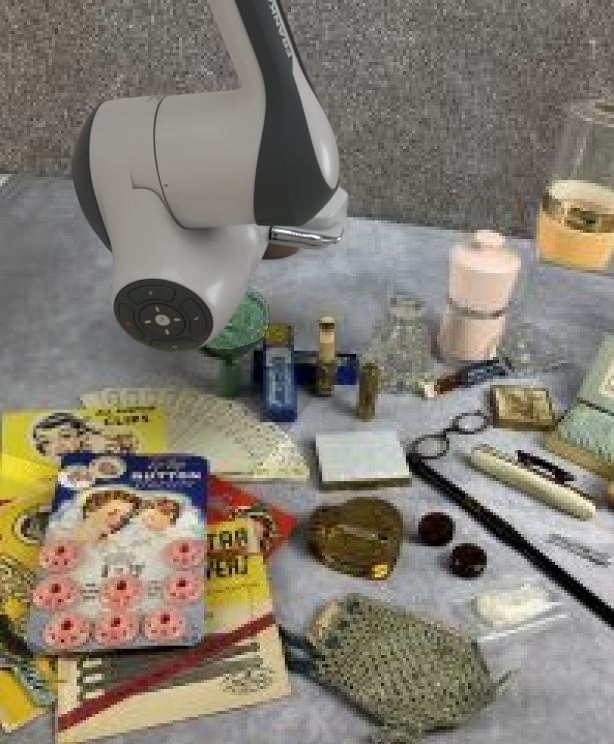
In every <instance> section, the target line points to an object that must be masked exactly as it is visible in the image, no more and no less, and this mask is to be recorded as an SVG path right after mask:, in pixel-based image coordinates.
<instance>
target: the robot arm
mask: <svg viewBox="0 0 614 744" xmlns="http://www.w3.org/2000/svg"><path fill="white" fill-rule="evenodd" d="M207 2H208V5H209V7H210V10H211V12H212V15H213V17H214V20H215V22H216V25H217V28H218V30H219V32H220V34H221V37H222V40H223V42H224V45H225V47H226V51H227V53H228V55H229V57H230V60H231V62H232V66H233V69H234V70H235V73H236V75H237V77H238V80H239V83H240V87H239V88H236V89H231V90H230V89H229V90H221V91H220V90H218V91H207V92H195V93H182V94H168V93H167V94H157V95H156V94H155V95H154V94H153V95H143V96H134V97H124V98H123V97H122V98H115V99H105V100H102V101H101V102H99V104H98V105H97V106H95V107H94V109H92V111H91V112H90V114H89V115H88V116H87V117H86V120H85V121H84V123H83V125H82V127H81V129H80V131H79V134H78V136H77V140H76V143H75V146H74V148H73V152H72V157H71V177H72V182H73V186H74V191H75V195H76V198H77V201H78V204H79V206H80V208H81V211H82V214H83V215H84V217H85V219H86V221H87V223H88V224H89V227H90V228H91V230H92V232H94V234H96V237H98V239H99V240H100V241H101V242H102V244H103V245H104V247H105V248H106V249H107V250H108V251H109V252H110V254H112V263H113V264H112V265H113V267H112V268H113V269H112V271H113V272H112V280H111V287H110V308H111V311H112V314H113V317H114V319H115V322H116V323H117V325H118V326H119V327H120V329H121V330H122V331H123V332H124V333H125V334H126V335H127V336H129V337H130V338H131V339H132V340H134V341H136V342H138V343H139V344H141V345H144V346H145V347H148V348H151V349H154V350H158V351H162V352H187V351H188V352H189V351H195V350H198V349H200V348H202V347H204V346H205V345H207V344H209V343H210V342H212V341H213V340H214V339H216V338H217V337H218V336H219V335H220V334H221V333H222V332H223V331H224V329H225V328H226V327H227V326H228V324H229V323H230V322H231V320H232V319H233V317H234V316H235V314H236V313H237V310H238V309H239V307H240V305H241V303H242V301H243V300H244V297H245V295H246V293H247V291H248V289H249V285H250V282H251V278H252V276H254V274H255V273H256V271H257V269H258V267H259V265H260V263H261V261H262V260H263V259H262V257H263V255H264V253H265V250H266V248H267V246H268V244H269V243H272V244H278V245H285V246H291V247H297V248H299V249H304V250H312V251H313V250H315V251H317V250H325V249H326V248H329V247H330V246H331V245H337V244H339V243H340V242H341V241H342V238H343V235H344V233H345V230H344V228H345V225H346V224H347V223H346V222H347V215H348V208H349V207H348V206H349V193H348V192H347V191H346V190H345V189H344V188H342V187H340V186H339V185H340V155H339V148H338V147H339V146H338V143H337V140H336V137H335V134H334V131H333V127H332V126H331V123H330V121H329V119H328V117H327V115H326V113H325V109H324V108H323V105H322V102H321V101H320V98H319V96H318V94H317V91H316V89H315V87H314V85H313V83H312V81H311V79H310V77H309V73H308V71H307V69H306V67H305V64H304V62H303V59H302V57H301V53H300V51H299V48H298V46H297V43H296V41H295V38H294V35H293V32H292V29H291V26H290V24H289V21H288V18H287V16H286V11H285V10H284V7H283V4H282V2H281V0H207Z"/></svg>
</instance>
